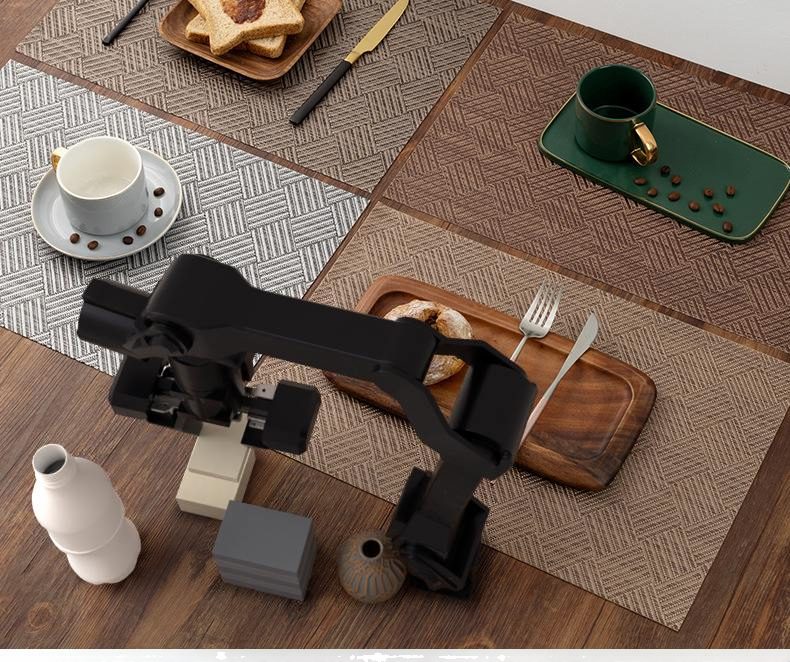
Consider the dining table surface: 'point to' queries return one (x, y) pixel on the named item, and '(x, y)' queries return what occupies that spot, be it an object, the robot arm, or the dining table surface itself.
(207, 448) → the beige flat block
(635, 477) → the dining table surface
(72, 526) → the water bottle
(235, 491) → the beige rectangular block
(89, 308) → the robot arm
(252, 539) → the grey stack
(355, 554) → the vase
